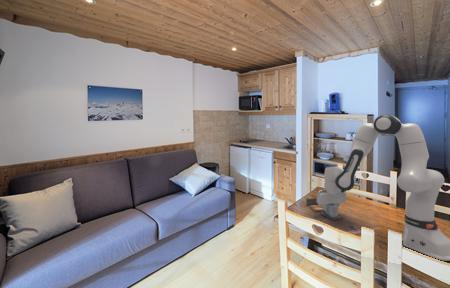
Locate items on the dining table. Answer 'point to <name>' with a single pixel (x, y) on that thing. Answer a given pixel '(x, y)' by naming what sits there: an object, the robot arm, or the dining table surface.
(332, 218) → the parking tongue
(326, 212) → the medicine box
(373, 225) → the dining table surface
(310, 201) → the rack
